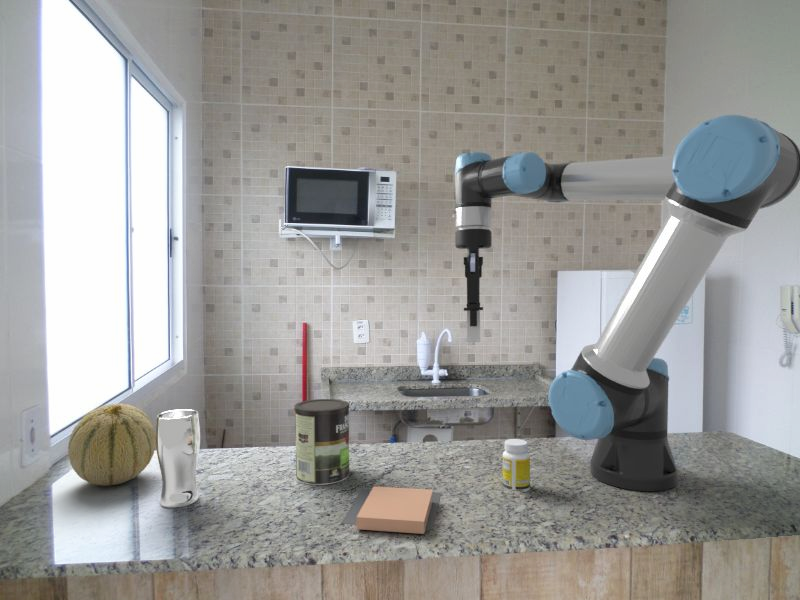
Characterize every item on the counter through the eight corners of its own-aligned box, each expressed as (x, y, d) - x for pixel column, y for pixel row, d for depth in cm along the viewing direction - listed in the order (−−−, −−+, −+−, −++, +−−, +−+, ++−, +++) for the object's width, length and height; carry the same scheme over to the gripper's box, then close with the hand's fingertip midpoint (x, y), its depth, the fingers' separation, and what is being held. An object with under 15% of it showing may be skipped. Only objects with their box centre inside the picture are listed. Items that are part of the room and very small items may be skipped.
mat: (441, 496, 94) (441, 492, 94) (432, 533, 80) (432, 529, 80) (362, 491, 96) (362, 488, 96) (340, 527, 82) (340, 523, 82)
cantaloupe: (123, 464, 111) (121, 392, 110) (174, 475, 104) (172, 398, 104) (49, 489, 98) (47, 407, 97) (103, 504, 91) (100, 416, 91)
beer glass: (209, 495, 94) (208, 410, 94) (181, 511, 88) (179, 420, 87) (177, 490, 97) (175, 407, 96) (147, 506, 90) (145, 417, 90)
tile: (432, 489, 90) (424, 521, 78) (432, 502, 90) (424, 535, 78) (373, 486, 91) (356, 517, 79) (373, 498, 91) (356, 530, 79)
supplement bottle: (532, 485, 98) (532, 439, 98) (526, 495, 94) (526, 447, 93) (506, 481, 100) (506, 436, 100) (499, 490, 96) (499, 444, 95)
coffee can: (356, 470, 107) (355, 399, 106) (340, 490, 97) (339, 411, 96) (307, 466, 109) (306, 397, 108) (286, 486, 99) (285, 409, 98)
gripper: (457, 232, 120) (457, 338, 121) (453, 226, 107) (453, 344, 108) (491, 231, 119) (491, 338, 120) (491, 225, 106) (491, 345, 107)
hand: (473, 341), depth 114 cm, fingers closed
